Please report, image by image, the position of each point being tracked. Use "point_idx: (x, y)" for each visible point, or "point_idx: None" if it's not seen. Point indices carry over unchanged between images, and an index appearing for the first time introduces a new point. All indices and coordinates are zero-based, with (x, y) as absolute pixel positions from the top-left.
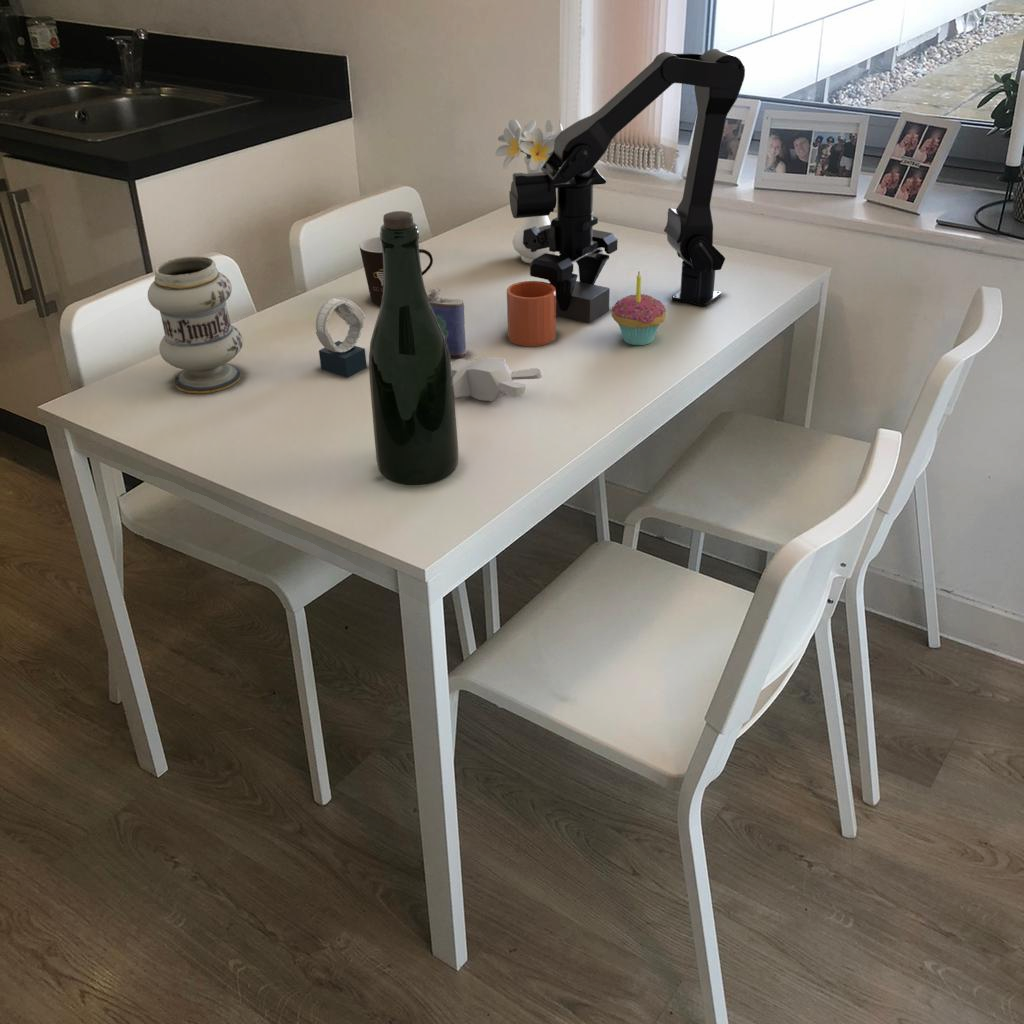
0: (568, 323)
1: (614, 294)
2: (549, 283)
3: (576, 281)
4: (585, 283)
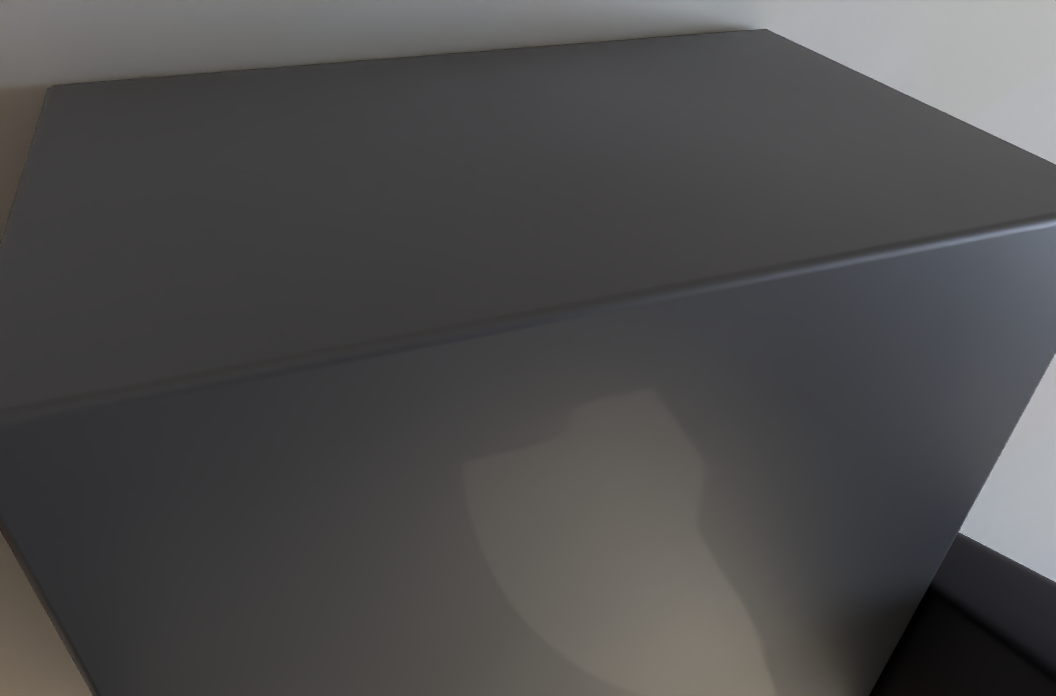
0: (65, 675)
1: None
2: (650, 319)
3: (919, 575)
4: (859, 687)
